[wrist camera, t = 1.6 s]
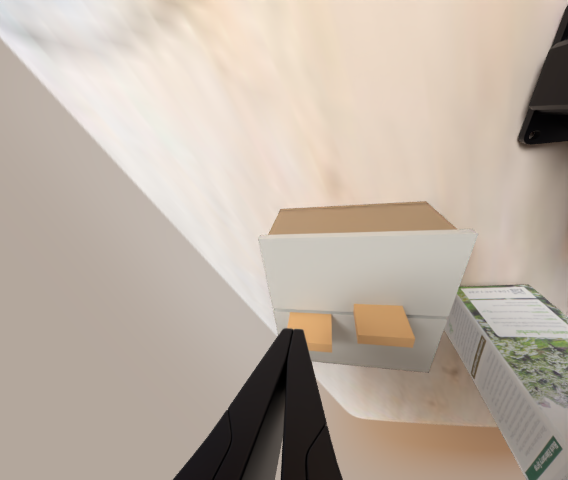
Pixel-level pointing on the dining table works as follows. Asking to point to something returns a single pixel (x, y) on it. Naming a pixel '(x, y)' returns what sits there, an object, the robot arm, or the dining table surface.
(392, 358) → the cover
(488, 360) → the syrup box
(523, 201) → the dining table surface
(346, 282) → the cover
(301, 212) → the carton
